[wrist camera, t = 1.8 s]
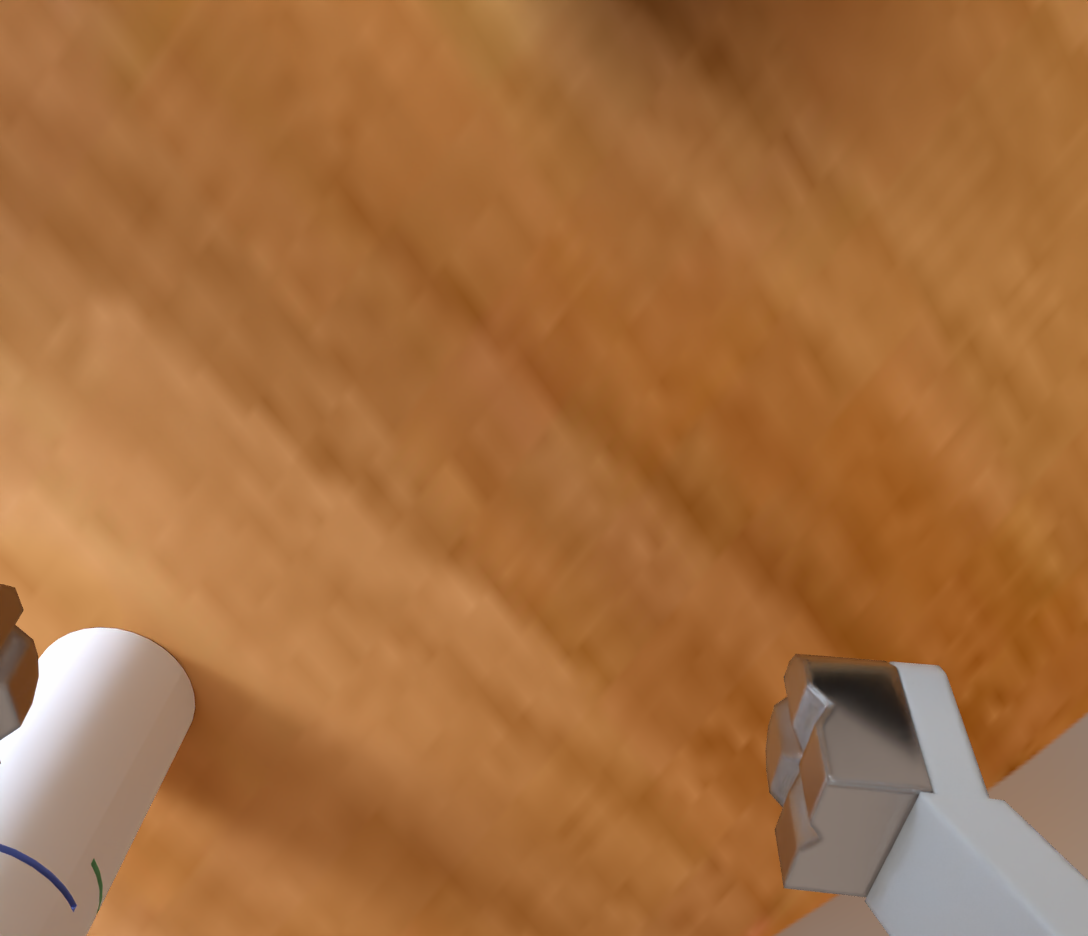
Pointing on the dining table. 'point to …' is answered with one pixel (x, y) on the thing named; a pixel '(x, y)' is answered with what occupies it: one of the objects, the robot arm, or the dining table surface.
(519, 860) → the dining table surface
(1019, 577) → the dining table surface
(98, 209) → the dining table surface
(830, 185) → the dining table surface
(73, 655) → the cylindrical container
